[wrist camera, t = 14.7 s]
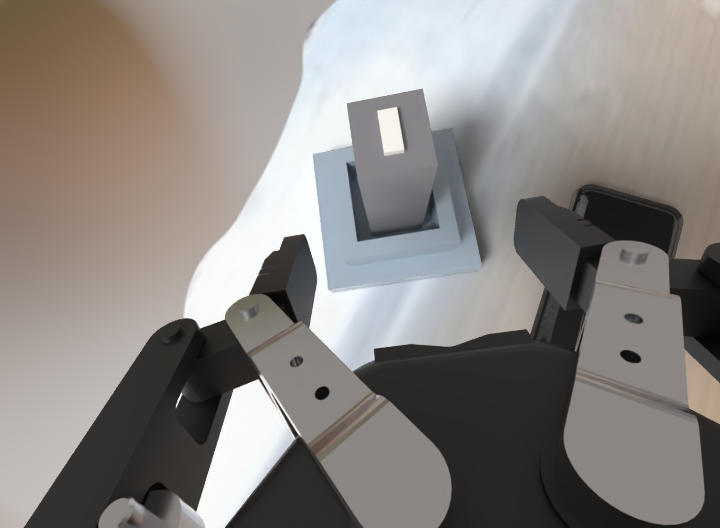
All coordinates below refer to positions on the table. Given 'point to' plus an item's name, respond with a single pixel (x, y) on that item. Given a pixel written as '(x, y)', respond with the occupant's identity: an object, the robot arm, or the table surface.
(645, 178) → the table surface
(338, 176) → the outlet box
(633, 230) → the phone
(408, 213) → the block
